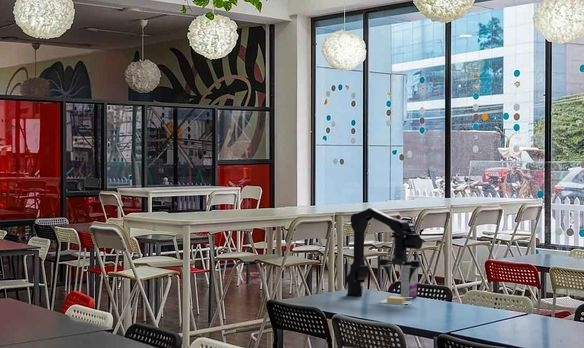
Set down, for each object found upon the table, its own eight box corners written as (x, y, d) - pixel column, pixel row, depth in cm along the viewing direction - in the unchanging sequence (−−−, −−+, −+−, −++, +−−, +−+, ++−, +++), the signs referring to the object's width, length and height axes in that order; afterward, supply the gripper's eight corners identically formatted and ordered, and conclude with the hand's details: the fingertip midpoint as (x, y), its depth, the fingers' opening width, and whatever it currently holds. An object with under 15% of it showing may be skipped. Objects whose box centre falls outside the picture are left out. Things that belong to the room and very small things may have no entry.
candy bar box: (407, 296, 424) (408, 262, 424) (417, 297, 422) (418, 263, 422) (399, 298, 414) (400, 264, 414) (409, 299, 412) (410, 264, 412)
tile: (390, 300, 402) (387, 302, 395) (390, 296, 402) (387, 297, 395) (405, 301, 399) (402, 303, 393) (405, 297, 399) (402, 298, 393)
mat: (379, 302, 395) (379, 298, 395) (386, 299, 408) (386, 295, 408) (409, 305, 390) (409, 301, 390) (415, 301, 404) (415, 297, 404)
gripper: (376, 247, 397) (375, 282, 397) (417, 249, 391) (416, 284, 390) (382, 246, 407) (381, 279, 407) (421, 248, 401) (420, 282, 401)
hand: (399, 281), depth 401 cm, fingers open, 9 cm apart
